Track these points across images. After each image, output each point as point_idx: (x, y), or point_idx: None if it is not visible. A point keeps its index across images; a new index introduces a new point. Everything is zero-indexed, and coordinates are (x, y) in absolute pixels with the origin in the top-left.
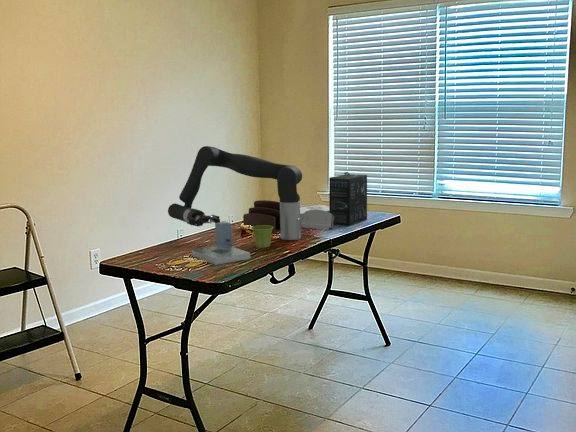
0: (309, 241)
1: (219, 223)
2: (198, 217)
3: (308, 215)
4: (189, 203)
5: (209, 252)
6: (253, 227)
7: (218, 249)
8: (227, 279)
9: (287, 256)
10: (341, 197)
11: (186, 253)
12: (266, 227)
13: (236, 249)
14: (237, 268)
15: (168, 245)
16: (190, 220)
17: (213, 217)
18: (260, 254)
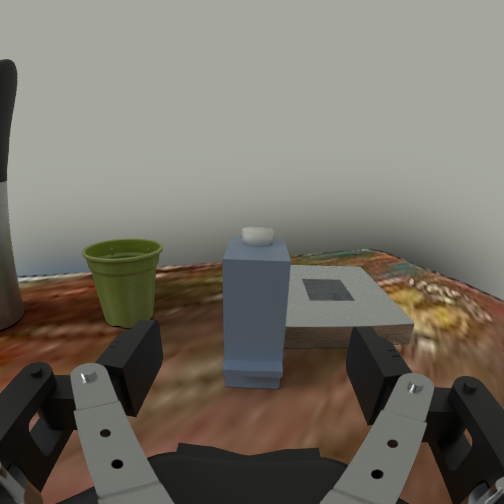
0: (28, 288)
1: (277, 249)
2: (383, 412)
3: None
4: None
5: (361, 292)
6: (127, 260)
7: (324, 301)
8: (356, 251)
9: (186, 264)
10: None
11: (428, 371)
12: (86, 259)
13: None
14: (322, 263)
15: None
16: (485, 404)
17: (111, 384)
18: (214, 286)
